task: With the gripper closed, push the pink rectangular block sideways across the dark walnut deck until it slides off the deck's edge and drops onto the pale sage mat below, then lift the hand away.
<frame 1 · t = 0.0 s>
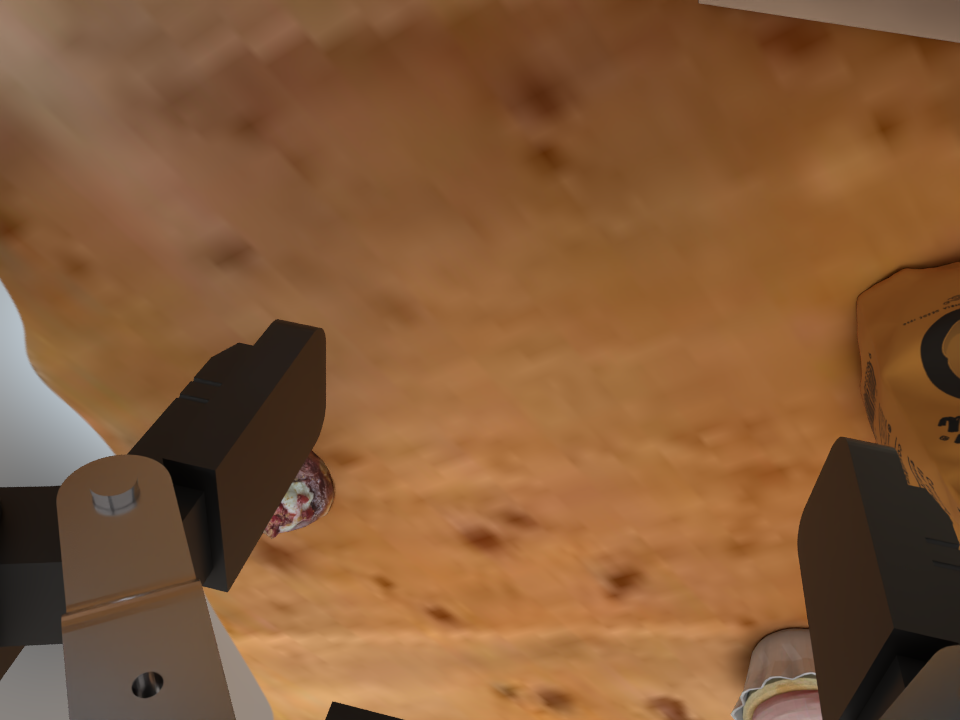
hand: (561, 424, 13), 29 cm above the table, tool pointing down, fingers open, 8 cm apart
coffee package: (959, 350, 43), on the table
pastry: (282, 471, 58), on the table
cupcake: (801, 655, 57), on the table
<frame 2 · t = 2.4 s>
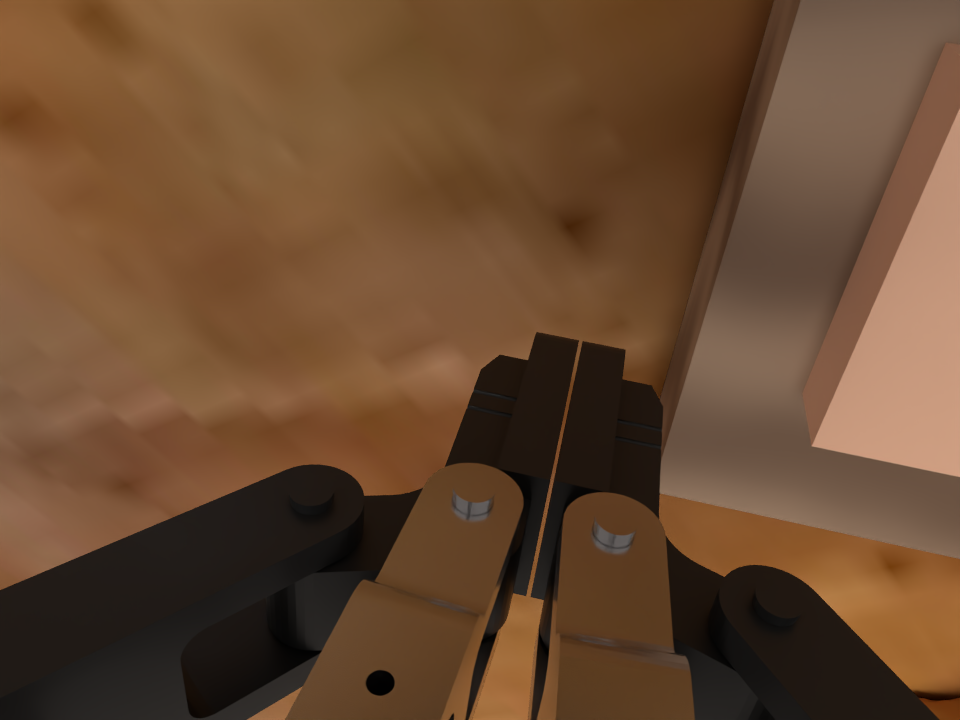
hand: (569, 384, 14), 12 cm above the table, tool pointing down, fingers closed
deck: (954, 196, 22), on the table
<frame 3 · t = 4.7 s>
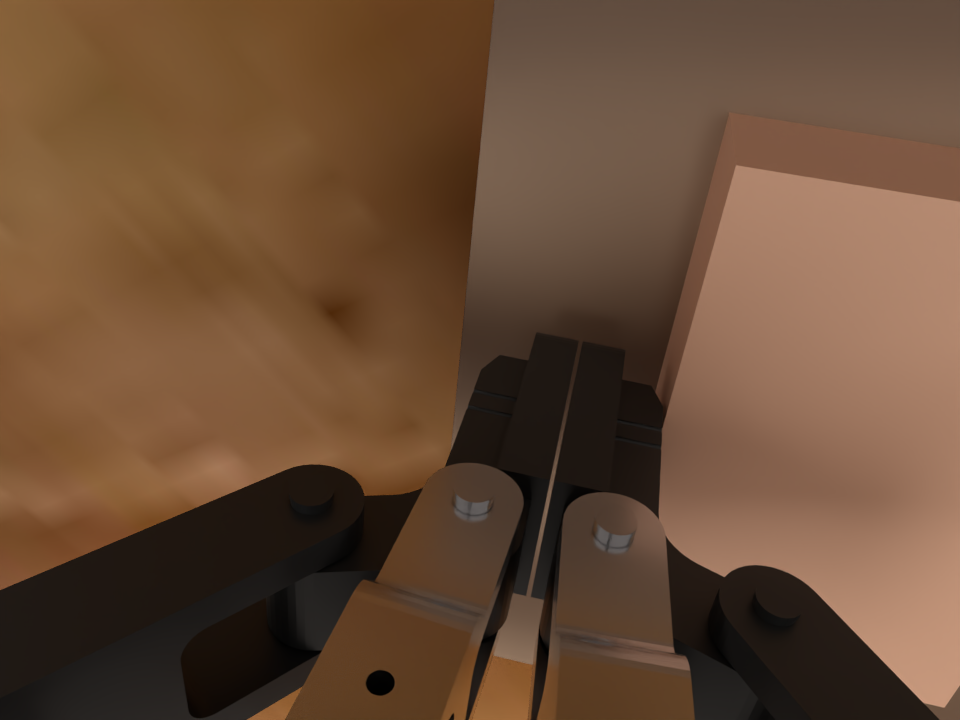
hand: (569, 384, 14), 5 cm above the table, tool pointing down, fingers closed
pink rectangular block: (837, 399, 14), point 4 cm above the table, touching deck
deck: (781, 283, 18), on the table
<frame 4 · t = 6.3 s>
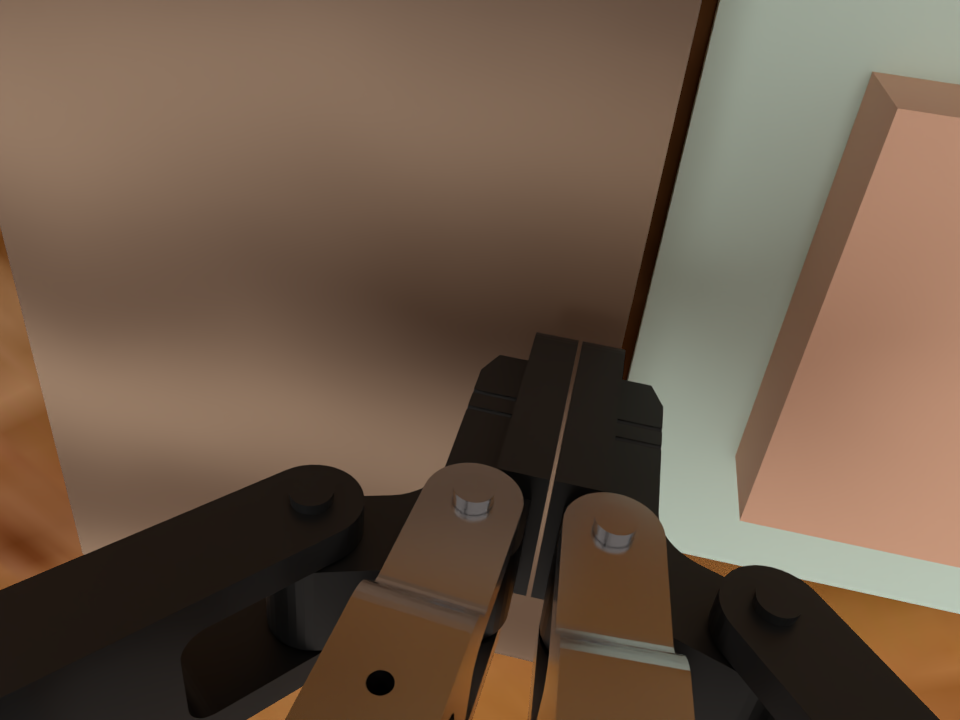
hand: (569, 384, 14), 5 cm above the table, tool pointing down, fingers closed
deck: (365, 205, 19), on the table
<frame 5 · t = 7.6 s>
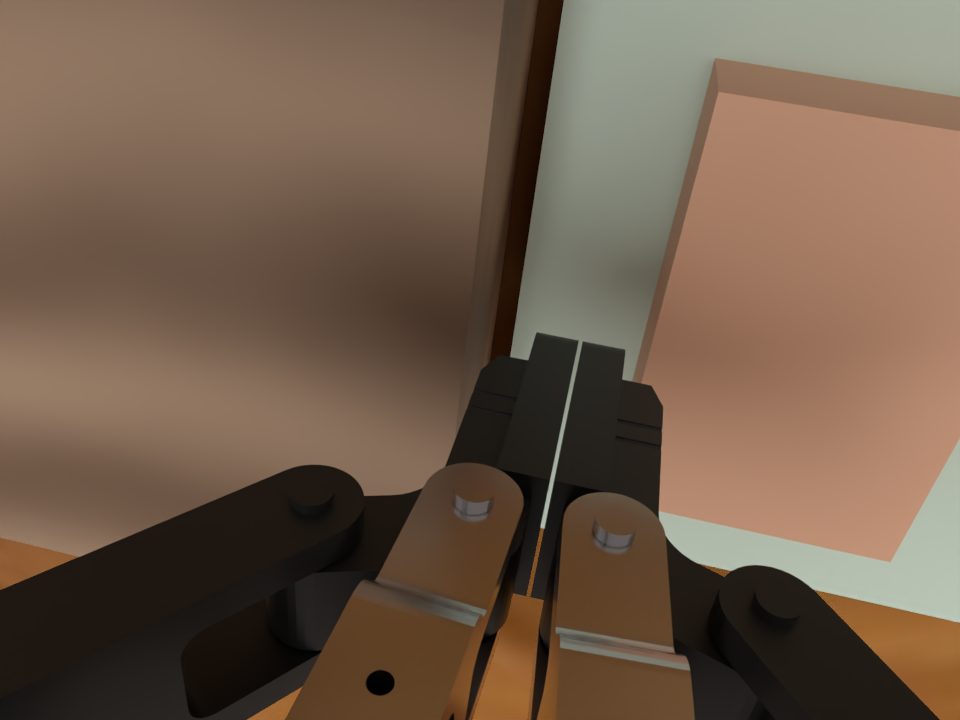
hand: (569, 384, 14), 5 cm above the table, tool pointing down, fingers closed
mat: (832, 298, 18), on the table
pink rectangular block: (816, 360, 16), point 3 cm above the table, tilted 180°, touching mat
deck: (249, 189, 19), on the table
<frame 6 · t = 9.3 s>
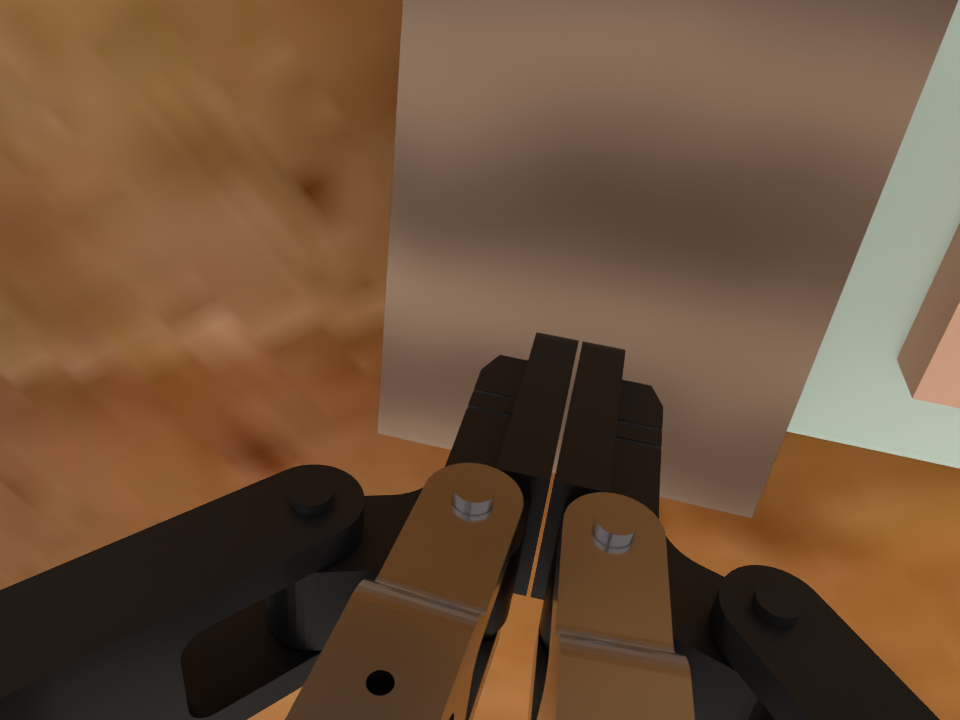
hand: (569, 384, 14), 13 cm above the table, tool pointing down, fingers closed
deck: (627, 159, 25), on the table
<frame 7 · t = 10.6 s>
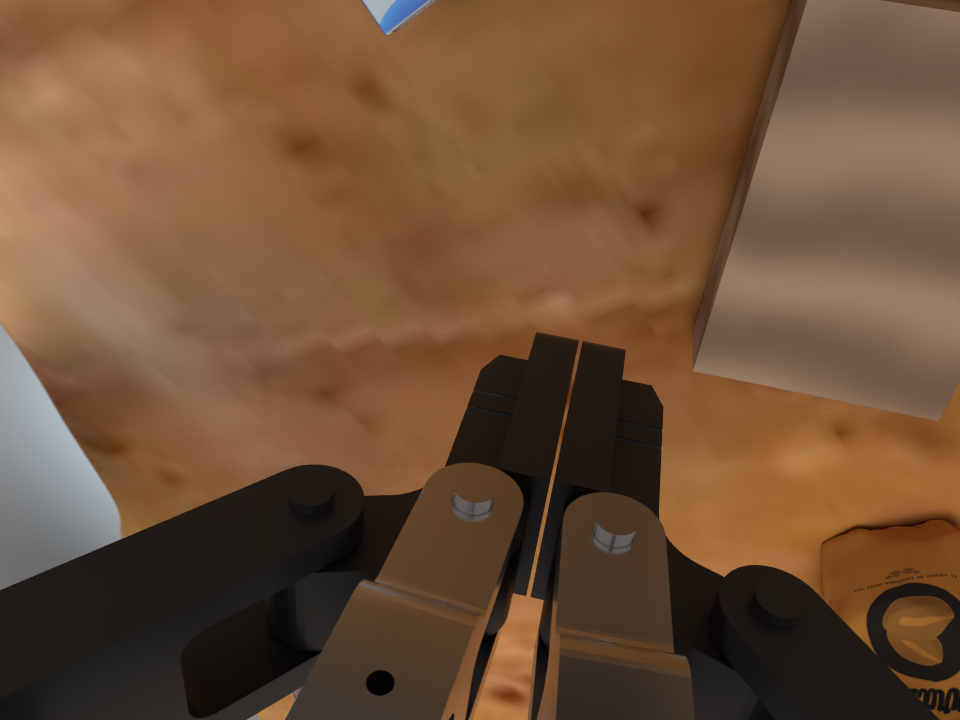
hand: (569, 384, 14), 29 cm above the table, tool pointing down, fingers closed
coffee package: (904, 584, 52), on the table
deck: (866, 196, 40), on the table
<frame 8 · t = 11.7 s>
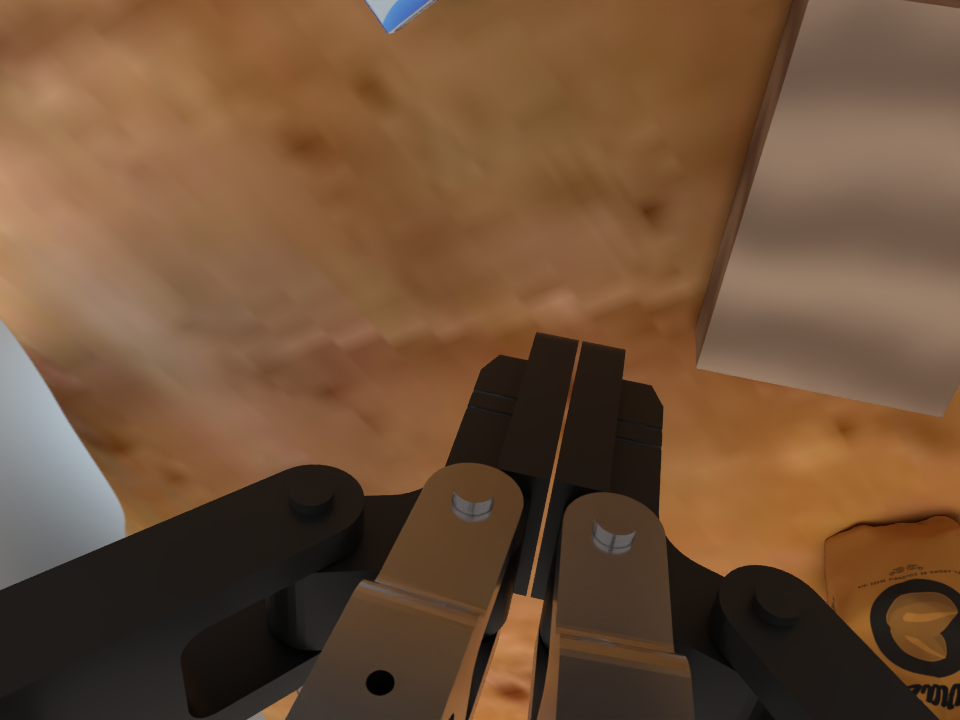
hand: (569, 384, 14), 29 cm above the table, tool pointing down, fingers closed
coffee package: (908, 580, 52), on the table
deck: (869, 193, 40), on the table
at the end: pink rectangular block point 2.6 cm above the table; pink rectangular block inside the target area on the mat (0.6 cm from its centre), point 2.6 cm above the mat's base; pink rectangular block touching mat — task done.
